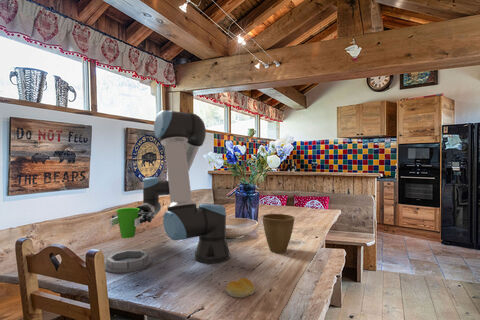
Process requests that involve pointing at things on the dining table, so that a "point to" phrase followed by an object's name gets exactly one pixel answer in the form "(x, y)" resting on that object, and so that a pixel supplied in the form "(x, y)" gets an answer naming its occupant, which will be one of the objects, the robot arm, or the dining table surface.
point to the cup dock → (127, 261)
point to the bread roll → (240, 288)
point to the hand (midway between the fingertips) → (123, 223)
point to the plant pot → (278, 231)
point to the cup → (127, 221)
